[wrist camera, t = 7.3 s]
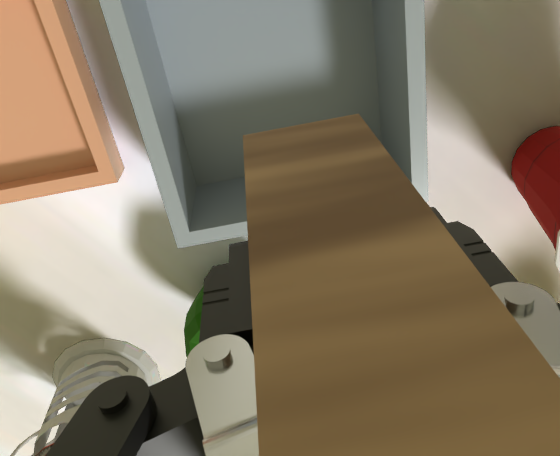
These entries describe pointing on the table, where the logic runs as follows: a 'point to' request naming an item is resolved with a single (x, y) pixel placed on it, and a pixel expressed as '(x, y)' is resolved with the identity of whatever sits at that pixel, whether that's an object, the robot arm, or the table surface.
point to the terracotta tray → (49, 106)
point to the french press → (88, 380)
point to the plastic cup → (541, 180)
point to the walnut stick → (377, 313)
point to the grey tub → (263, 89)
